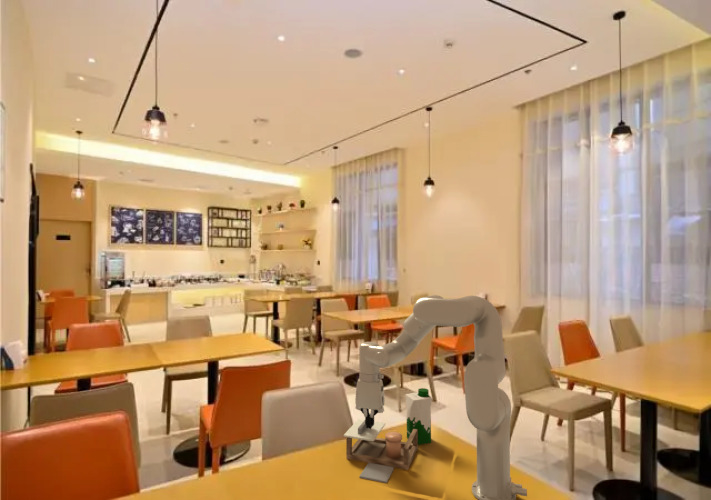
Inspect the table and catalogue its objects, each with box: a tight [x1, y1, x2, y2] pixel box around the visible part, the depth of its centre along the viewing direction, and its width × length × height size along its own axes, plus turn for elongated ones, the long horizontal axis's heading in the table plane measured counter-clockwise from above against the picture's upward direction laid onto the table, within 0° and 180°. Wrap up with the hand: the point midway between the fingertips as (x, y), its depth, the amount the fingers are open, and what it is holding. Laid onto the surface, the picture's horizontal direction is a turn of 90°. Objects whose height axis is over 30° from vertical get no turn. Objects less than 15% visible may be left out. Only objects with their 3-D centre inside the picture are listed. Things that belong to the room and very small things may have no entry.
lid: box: [343, 418, 386, 441], centre depth 147 cm, size 11×15×3 cm
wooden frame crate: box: [345, 429, 419, 471], centre depth 145 cm, size 22×16×8 cm
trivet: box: [359, 462, 395, 484], centre depth 131 cm, size 9×9×2 cm
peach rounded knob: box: [384, 431, 403, 459], centre depth 143 cm, size 6×6×7 cm
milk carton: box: [405, 387, 433, 446], centre depth 155 cm, size 9×9×20 cm
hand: (369, 426), depth 146 cm, fingers closed
